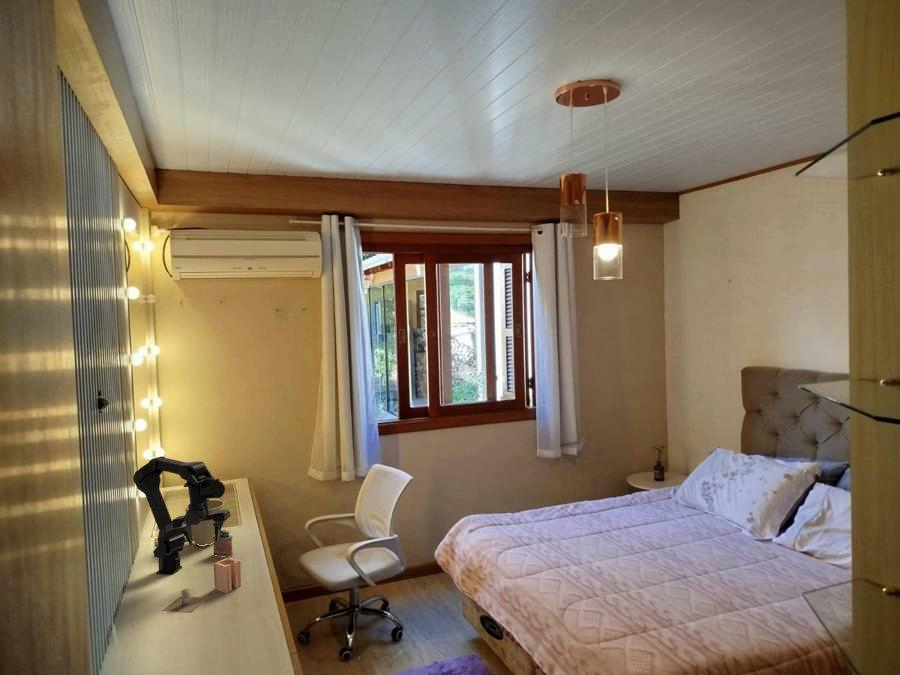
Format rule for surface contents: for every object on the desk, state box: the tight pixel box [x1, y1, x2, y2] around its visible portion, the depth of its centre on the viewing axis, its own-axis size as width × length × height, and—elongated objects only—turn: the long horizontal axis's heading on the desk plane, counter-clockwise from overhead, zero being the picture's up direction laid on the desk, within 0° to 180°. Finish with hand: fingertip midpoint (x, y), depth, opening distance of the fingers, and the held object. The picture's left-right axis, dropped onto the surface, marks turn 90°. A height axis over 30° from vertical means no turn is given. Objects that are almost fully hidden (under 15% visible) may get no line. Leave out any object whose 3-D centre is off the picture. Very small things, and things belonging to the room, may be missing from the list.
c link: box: [213, 557, 242, 594], centre depth 204 cm, size 6×6×9 cm
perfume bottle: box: [212, 529, 234, 558], centre depth 235 cm, size 8×3×10 cm, turn 74°
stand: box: [161, 588, 210, 614], centre depth 192 cm, size 10×10×5 cm
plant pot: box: [184, 499, 225, 545], centre depth 248 cm, size 15×15×16 cm
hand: (204, 543), depth 213 cm, fingers open, 9 cm apart
